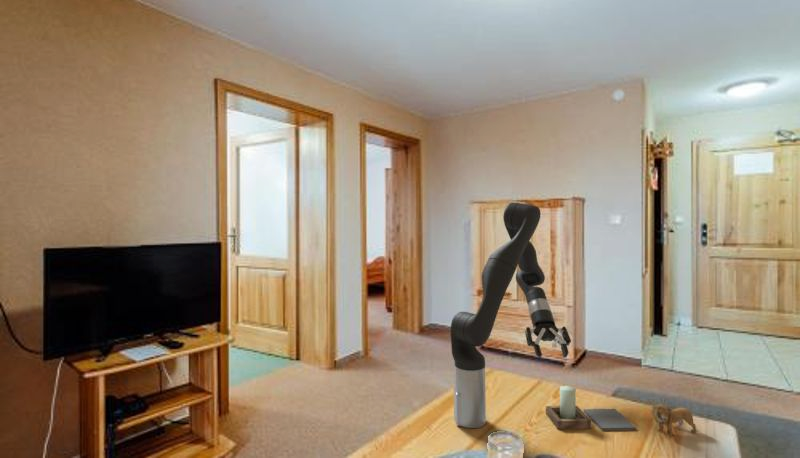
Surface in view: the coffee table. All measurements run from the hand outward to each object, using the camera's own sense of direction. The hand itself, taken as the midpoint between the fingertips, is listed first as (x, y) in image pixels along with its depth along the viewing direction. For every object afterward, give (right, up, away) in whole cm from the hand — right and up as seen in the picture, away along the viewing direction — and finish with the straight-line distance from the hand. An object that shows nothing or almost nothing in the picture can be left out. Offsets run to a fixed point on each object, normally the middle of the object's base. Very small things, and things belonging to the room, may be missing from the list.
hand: (553, 356), depth 137 cm
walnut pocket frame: (0, -16, -11) cm, 20 cm away
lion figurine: (+28, -16, -19) cm, 37 cm away
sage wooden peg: (0, -16, -11) cm, 20 cm away
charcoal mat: (+13, -16, -11) cm, 23 cm away
